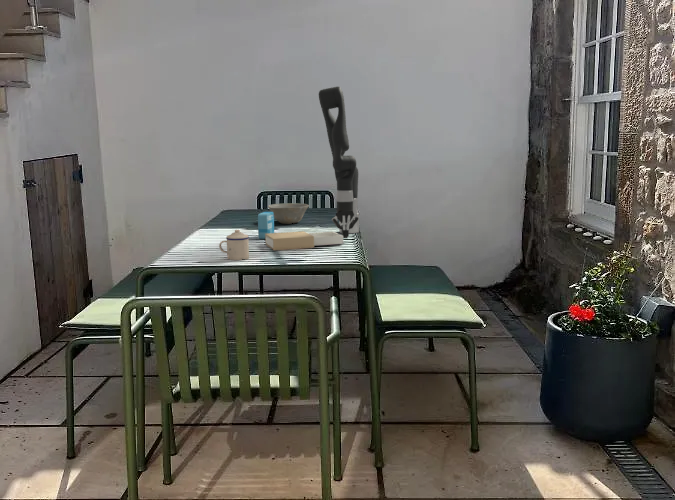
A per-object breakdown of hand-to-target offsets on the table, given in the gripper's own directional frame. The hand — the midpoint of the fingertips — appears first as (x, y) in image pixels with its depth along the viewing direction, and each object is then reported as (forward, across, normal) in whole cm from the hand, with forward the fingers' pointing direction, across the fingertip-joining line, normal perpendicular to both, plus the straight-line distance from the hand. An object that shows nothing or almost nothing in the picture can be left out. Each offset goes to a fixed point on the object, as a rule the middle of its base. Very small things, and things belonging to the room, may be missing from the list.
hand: (345, 238), depth 302 cm
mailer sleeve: (+2, +26, 0) cm, 26 cm away
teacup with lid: (+2, +54, +20) cm, 58 cm away
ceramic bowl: (+2, +7, -74) cm, 75 cm away
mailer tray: (+1, +19, 0) cm, 19 cm away
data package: (+2, +30, -28) cm, 41 cm away
